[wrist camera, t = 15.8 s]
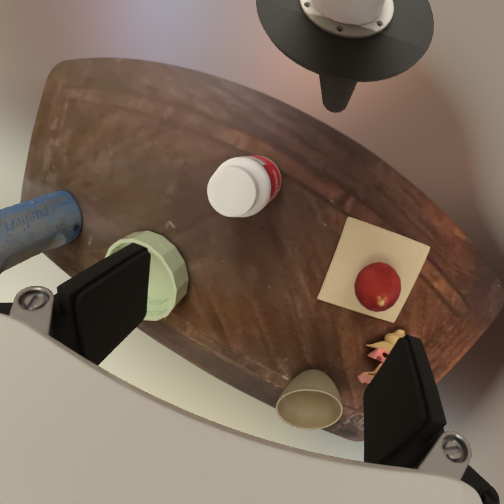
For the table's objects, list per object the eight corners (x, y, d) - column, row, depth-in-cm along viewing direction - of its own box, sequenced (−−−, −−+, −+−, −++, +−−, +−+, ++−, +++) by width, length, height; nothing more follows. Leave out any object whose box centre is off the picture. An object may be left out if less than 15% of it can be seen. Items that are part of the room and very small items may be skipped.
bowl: (122, 220, 44) (105, 227, 40) (195, 245, 42) (181, 256, 38) (119, 289, 49) (104, 301, 45) (184, 318, 47) (171, 333, 43)
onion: (401, 280, 36) (415, 311, 28) (365, 301, 38) (371, 335, 31) (382, 245, 35) (395, 270, 28) (344, 267, 37) (347, 297, 30)
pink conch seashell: (369, 316, 40) (424, 334, 31) (396, 333, 44) (443, 349, 36) (341, 374, 38) (393, 401, 30) (372, 382, 43) (417, 404, 35)
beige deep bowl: (271, 376, 47) (262, 406, 40) (317, 347, 43) (313, 379, 36) (309, 406, 48) (305, 436, 41) (355, 382, 44) (355, 414, 37)
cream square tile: (347, 215, 35) (348, 216, 35) (429, 246, 34) (430, 247, 33) (317, 297, 40) (317, 299, 40) (393, 321, 38) (394, 323, 38)
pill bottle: (271, 211, 38) (249, 236, 28) (228, 192, 38) (191, 210, 28) (290, 166, 35) (274, 173, 25) (244, 147, 36) (211, 148, 26)
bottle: (67, 248, 50) (-56, 319, 22) (45, 207, 48) (-79, 260, 21) (90, 224, 46) (-56, 298, 19) (66, 178, 44) (-80, 228, 17)
